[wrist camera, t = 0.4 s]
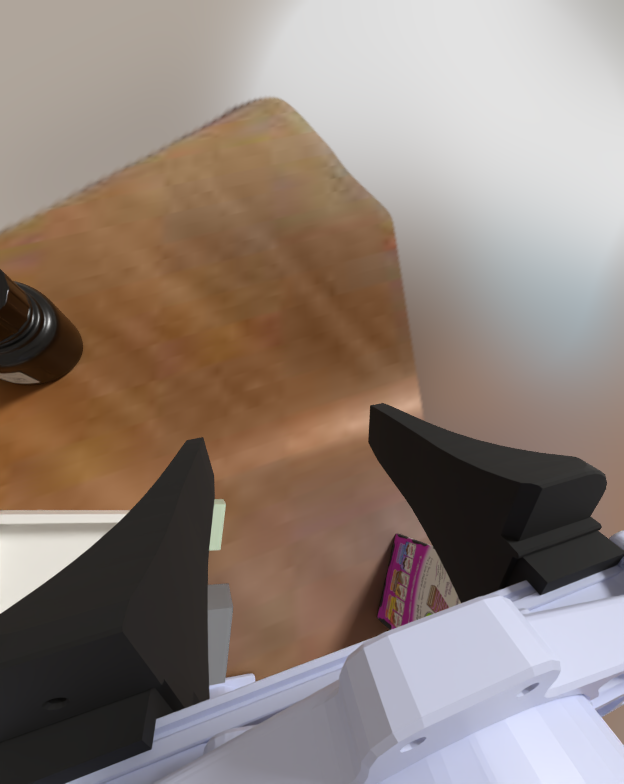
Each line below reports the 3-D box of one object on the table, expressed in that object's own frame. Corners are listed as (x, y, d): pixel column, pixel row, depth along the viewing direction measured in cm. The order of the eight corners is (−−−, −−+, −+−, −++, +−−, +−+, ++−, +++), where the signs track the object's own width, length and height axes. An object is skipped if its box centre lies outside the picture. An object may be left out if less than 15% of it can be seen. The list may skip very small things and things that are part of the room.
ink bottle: (-41, 334, 30) (-185, 259, 19) (49, 295, 33) (-27, 215, 22) (22, 405, 30) (-81, 373, 19) (104, 360, 34) (56, 311, 23)
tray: (106, 661, 28) (97, 679, 26) (-59, 686, 24) (-87, 709, 22) (135, 510, 32) (130, 514, 29) (-4, 510, 28) (-23, 514, 25)
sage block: (218, 539, 34) (220, 549, 30) (177, 540, 32) (173, 551, 28) (223, 499, 35) (225, 504, 31) (183, 498, 34) (181, 503, 29)
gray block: (221, 644, 32) (225, 682, 26) (162, 652, 30) (152, 696, 24) (228, 583, 33) (233, 607, 28) (172, 587, 31) (165, 614, 26)
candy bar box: (405, 626, 39) (528, 728, 24) (375, 617, 38) (485, 718, 23) (421, 541, 43) (537, 584, 28) (395, 531, 42) (500, 569, 27)
